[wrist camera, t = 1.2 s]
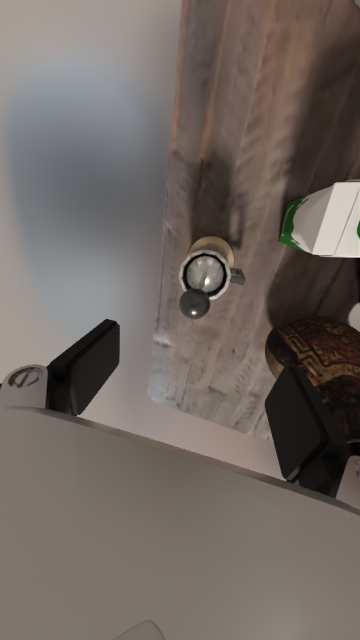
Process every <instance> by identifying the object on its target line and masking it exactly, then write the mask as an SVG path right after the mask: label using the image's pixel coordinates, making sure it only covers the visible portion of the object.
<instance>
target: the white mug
mask: <svg viewBox="0 0 360 640" xmlns="http://www.w3.org/2000/svg"><path fill="white" fill-rule="evenodd" d="M203 256H208V257H212V258H214V259H216V260H217V261H218V262H219V263H220V265H221V266H222V269H223V280H222V282H221V284H220V286H219V287H218V288H217V289H216V290H214V291H212V292H209V293H207V295H208V296H209V299H210V300H212V299H216V298H218V297H219V296H220V295H221V294H222V293H223V292H224V291H225V290H227V288H228V284H229V282H232V283H237V284H239V285H244V282H245V276H244V274H243V272H242V269H235V268H231V267H230V266H229V261H228V256H227V252H226V251H225V250H224V248H223V247H221V246H220V245H219V244H216V243H210V242H209V243H205V244H203V245H200V246H199V247H197V248H196V249H195V250H194V251H193V252H192V253H191V254H190V255H189V256H188V257H187V258H186V260H185V261H184V262H183V263H182V264H181V268H180V274H179V280H180V283H181V285H182V288H183V290H184V291H186V290H188V289H191V288H192V287H191V286H190V284H189V283H188V280H187V270H188V268H189V266H190V264H191V263H192V262H193V261H194V260H195V259H197V258H199V257H203ZM231 273H232V274H236V276H232V275H231Z"/></svg>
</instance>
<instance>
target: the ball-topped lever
mask: <svg viewBox="0 0 360 640" xmlns="http://www.w3.org/2000/svg"><path fill="white" fill-rule="evenodd" d="M187 280H188V283H189V284H190V286H191V287H192V288H191V289H188V290H186V291H185V292H184V293H183V294H182V296H181V298H180V301H179V307H180V310H181V312H182V313H183V314H184V315H185V316H186V317H188V318H190V319H199V318H201V317H203V316H205V315H206V314H207V312H208V310H209V308H210V299H209V296H208V295H207V293H209V292H212V291H214V290H216V289H217V288H218V287H219V286H220V284H221V282H222V280H223V269H222V266H221V265H220V263H219V262H218V261H217V260H216V259H214V258H212V257H208V256H203V257H199V258H197V259H195V260H194V261H193V262H192V263H191V264H190V266H189V268H188V270H187Z"/></svg>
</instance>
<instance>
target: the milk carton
mask: <svg viewBox="0 0 360 640" xmlns="http://www.w3.org/2000/svg"><path fill="white" fill-rule="evenodd" d="M350 181H360V179H358V180H347V181H346V182H337V183H334V184H333V185H332V186H331V187H328V188H325V189H323V190H320V191H317V192H314V193H312V194H309V195H306V196H304V197H301V198H299V199H296V200H294V201H291V202H288V204H287V208H286V212H285V216H284V220H283V224H282V229H281V233H280V237H279V242H282V243H284V244H287V245H289V246H291V247H294V248H297V249H299V250H303V251H306V252H309V253H312V254H316V255H332V256H322V257H360V182H350Z"/></svg>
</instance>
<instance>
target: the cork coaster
mask: <svg viewBox="0 0 360 640" xmlns="http://www.w3.org/2000/svg"><path fill="white" fill-rule="evenodd" d="M209 242H210V243H216V244H219V245H220V246H221V247H223V248H224V250H225V251H226V252H227V256H228V261H229V266H230V267H231V268H232V267H233V263H234V256H233V252H232V249H231V247H230V246H229V244H228V243H227V242H226V241H224V240H223V239H221V238H219V237H214V236H208V237H204V238H201V239H199V240H198V241H196V242H195V243H194V244H193V245H192V247H191V248H190V250H189V252H188V255H187V257H188V256H189V255H190V254H191V253H192V252H193V251H194V250H195V249H196V248H197V247H199V246H200V245H203V244H205V243H209Z"/></svg>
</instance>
